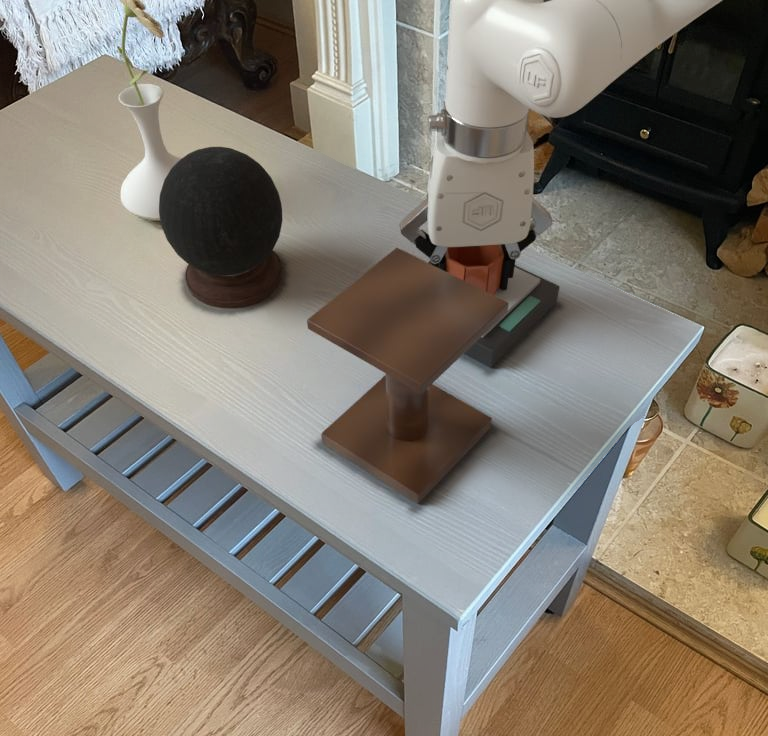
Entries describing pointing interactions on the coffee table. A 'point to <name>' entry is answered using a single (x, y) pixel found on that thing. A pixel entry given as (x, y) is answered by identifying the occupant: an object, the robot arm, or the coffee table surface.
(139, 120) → the flower in vase
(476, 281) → the bowl
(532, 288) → the scale
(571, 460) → the coffee table surface
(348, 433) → the stand
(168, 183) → the black orb ornament
